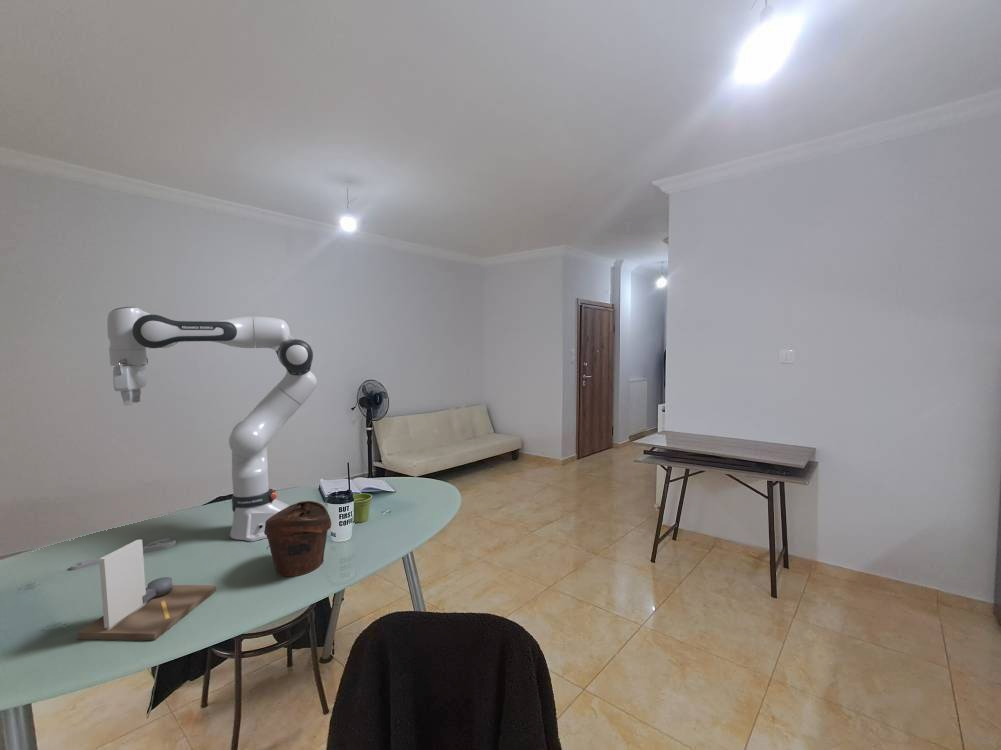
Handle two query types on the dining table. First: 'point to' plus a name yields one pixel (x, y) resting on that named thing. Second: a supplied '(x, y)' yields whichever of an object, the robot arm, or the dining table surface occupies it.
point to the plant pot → (361, 507)
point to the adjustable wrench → (150, 547)
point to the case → (298, 537)
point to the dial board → (152, 615)
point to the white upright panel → (127, 583)
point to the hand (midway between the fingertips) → (132, 403)
